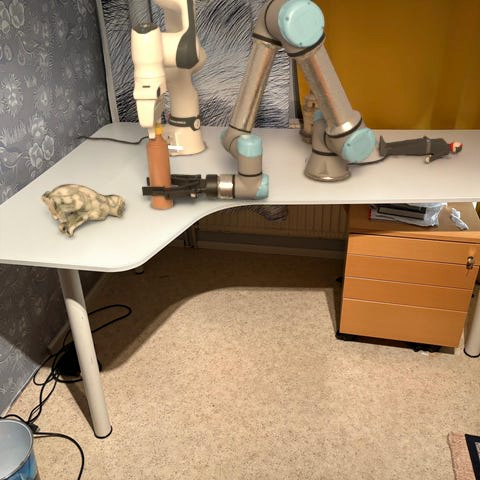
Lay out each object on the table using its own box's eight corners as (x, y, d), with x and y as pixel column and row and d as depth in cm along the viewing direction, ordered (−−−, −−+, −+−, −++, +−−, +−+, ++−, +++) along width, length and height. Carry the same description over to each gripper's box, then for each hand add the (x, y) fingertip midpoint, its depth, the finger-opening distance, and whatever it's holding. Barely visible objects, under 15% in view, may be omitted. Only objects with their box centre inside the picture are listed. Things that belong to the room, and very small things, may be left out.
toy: (379, 128, 216) (458, 128, 210) (378, 143, 219) (456, 144, 213) (380, 150, 194) (469, 151, 187) (379, 166, 197) (466, 168, 190)
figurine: (85, 253, 150) (138, 211, 159) (47, 199, 141) (105, 158, 150) (72, 248, 157) (123, 208, 166) (34, 197, 148) (90, 157, 157)
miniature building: (320, 132, 228) (325, 59, 214) (338, 142, 217) (344, 66, 203) (293, 137, 224) (296, 63, 209) (310, 147, 213) (314, 69, 198)
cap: (164, 133, 157) (164, 127, 156) (151, 135, 155) (150, 129, 154) (161, 129, 160) (160, 123, 159) (147, 131, 159) (146, 125, 158)
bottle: (167, 198, 173) (160, 123, 161) (176, 205, 168) (170, 129, 156) (148, 203, 170) (140, 127, 158) (157, 211, 165) (150, 133, 153)
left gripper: (147, 77, 160) (151, 122, 167) (131, 94, 142) (137, 144, 149) (168, 77, 160) (171, 122, 167) (155, 94, 142) (159, 144, 149)
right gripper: (216, 211, 159) (139, 211, 160) (221, 184, 176) (151, 184, 177) (215, 188, 155) (137, 188, 156) (220, 163, 172) (149, 163, 173)
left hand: (155, 133), depth 158 cm, fingers open, 6 cm apart
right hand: (144, 186), depth 166 cm, fingers closed on bottle, 7 cm apart
